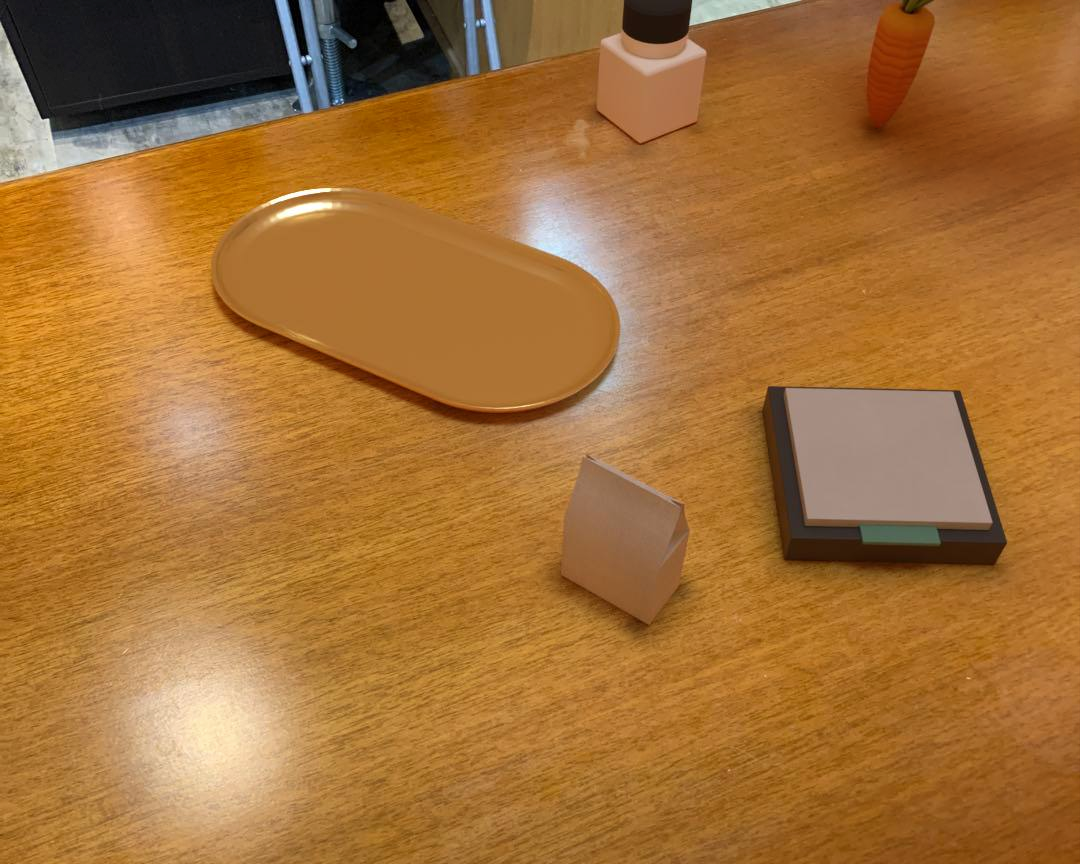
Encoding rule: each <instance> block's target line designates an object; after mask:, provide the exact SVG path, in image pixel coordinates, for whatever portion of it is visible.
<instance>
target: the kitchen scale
mask: <svg viewBox="0 0 1080 864" xmlns="http://www.w3.org/2000/svg"><path fill="white" fill-rule="evenodd" d="M762 416H763V421H764V428H765V436H766V442H767V449H768V456H769V462H770V469H771V470H770V471H771V476H772V482H773V490H774V496H775V503H776V511H777V517H778V524H779V531H780V537H781V545H782V550H783V558H784V560H786V561H787V560H790V561H791V560H793V561H826V562H827V561H831V562H832V561H835V562H838V561H839V562H876V563H879V562H880V563H920V564H921V563H923V564H924V563H925V564H961V565H962V564H966V565H996V563H997V561H998V559H999V558H1000V556H1001V555H1002V553H1003V551H1004V549H1005V547H1006V546H1007V544H1008V540H1007V537H1006V535H1005V530H1004V528H1003V524H1002V521H1001V518H1000V515H999V512H998V508H997V504H996V502H995V499H994V495H993V492H992V488H991V485H990V481H989V480H988V475H987V472H986V470H985V466H984V462H983V459H982V456H981V453H980V450H979V446H978V443H977V440H976V436H975V433H974V430H973V427H972V424H971V423H972V422H971V420H970V417H969V414H968V410H967V408H966V404H965V401H964V398H963V394H962V391H961V390H960V389H953V390H952V389H914V388H869V387H867V388H866V387H831V386H830V387H829V386H828V387H826V386H825V387H824V386H781V385H779V386H778V385H768V386H767V389H766V393H765V397H764V401H763V405H762Z"/></svg>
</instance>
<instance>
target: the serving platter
mask: <svg viewBox="0 0 1080 864" xmlns="http://www.w3.org/2000/svg"><path fill="white" fill-rule="evenodd" d="M210 276H211V281H212V283H213V287H214V289H215V291H216V293H217V294H218V296H219V297H220V299H221V300H222V302H223V303H224V304H225V305H226V306H227V307H228V308H229V309H230V310H231V311H233V312H234V313H235V314H237V316H239V317H241V318H243V319H244V320H245V321H247V322H249V323H252V324H254V325H256V326H257V327H260V328H262V329H264V330H267V331H270V332H272V333H274V334H277V335H279V336H281V337H284V338H287V339H289V340H291V341H293V342H295V343H298V344H301V345H302V346H305V347H307V348H310V349H312V350H314V351H317V352H319V353H321V354H324V355H325V356H328V357H330V358H333V359H335V360H338V361H340V362H343V363H345V364H347V365H350V366H352V367H355V368H357V369H360V370H361V371H365V372H367V373H369V374H371V375H374V376H376V377H379V378H381V379H383V380H386V381H388V382H390V383H392V384H395V385H397V386H399V387H402V388H405V389H407V390H410V391H411V392H414V393H416V394H419V395H421V396H423V397H426V398H428V399H430V400H433V401H435V402H438V403H441V404H443V405H447V406H448V407H451V408H452V407H453V408H456V409H460V410H465V411H470V412H478V413H490V414H505V413H506V414H507V413H508V414H509V413H520V412H526V411H532V410H536V409H540V408H545V407H547V406H550V405H554V404H556V403H559V402H561V401H564V400H566V399H567V398H569V397H571V396H573V395H575V394H577V393H578V392H580V391H582V390H583V389H584V388H586V387H587V386H589V385H590V384H591V383H593V382H594V381H595V380H596V379H597V378H598V377H599V376H600V375H601V374H602V373H603V372H604V371H605V369H606V368H608V366H609V364H610V363H611V361H612V360H613V358H614V356H615V354H616V351H617V348H618V346H619V343H620V337H621V319H620V315H619V310H618V308H617V305H616V303H615V301H614V300H613V297H612V295H611V294H610V293H609V291H608V290H607V289H606V287H605V286H604V285H603V284H602V283H601V282H600V281H599V280H598V278H597V277H595V276H594V275H593V274H591V273H590V272H588V271H587V270H586V269H585V268H583V267H581V266H579V265H578V264H576V263H574V262H571V261H570V260H567V259H565V258H564V257H561V256H559V255H555V254H553V253H550V252H547V251H545V250H541V249H539V248H536V247H534V246H530V245H527V244H525V243H522V242H519V241H516V240H514V239H511V238H509V237H506V236H503V235H500V234H497V233H495V232H492V231H489V230H486V229H483V228H481V227H478V226H475V225H472V224H470V223H467V222H464V221H461V220H458V219H456V218H453V217H451V216H449V215H445V214H442V213H439V212H437V211H434V210H431V209H428V208H425V207H422V206H420V205H418V204H414V203H411V202H408V201H407V200H404V199H400V198H398V197H395V196H393V195H389V194H386V193H383V192H379V191H376V190H369V189H364V188H358V187H357V188H356V187H322V188H312V189H307V190H301V191H297V192H292V193H289V194H285V195H281V196H279V197H276V198H273V199H271V200H269V201H266V202H264V203H262V204H260V205H258V206H256V207H254V208H253V209H251V210H249V211H247V212H246V213H244V214H243V215H241V216H240V217H239V218H237V219H236V220H235V221H234V222H233V223H232V224H231V225H230V226H229V227H228V228H226V230H225V232H223V234H222V235H221V236H220V238H219V240H218V241H217V243H216V244H215V247H214V250H213V253H212V256H211V261H210Z"/></svg>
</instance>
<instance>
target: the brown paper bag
mask: <svg viewBox="0 0 1080 864" xmlns="http://www.w3.org/2000/svg"><path fill="white" fill-rule="evenodd" d="M562 532H563V533H562V548H561V549H562V550H561V552H562V553H561V570H560V571H561V572H560V575H561V576H562V577H564V578H565V579H567V580H568V581H570V582H573V583H574V584H576V585H578V586H580V587H581V588H583V589H585V590H587V592H590V593H591V594H593V595H595V596H597V597H599V598H600V599H602V600H603V601H606V602H607V603H609V604H611V605H613V606H614V607H616V608H618V609H620V610H621V611H623V612H625V613H626V614H629V615H631V616H632V617H634V618H636V619H637V620H639V621H641V622H643V623H645V624H646V625H648V626H650V625H651V623H652V622H653V621H654V620H655V618H656V617H657V616H658V615H659V613H660V612H661V610H662V609H663V608H664V607H665V605H666V604H667V603H668V601H670V599H671V598H672V597H673V595H674V593H676V591H677V589H678V588H679V587H680V581H681V578H682V577H681V576H682V573H683V572H682V571H683V566H684V563H685V558H686V551H687V547H688V542H689V537H690V532H691V530H690V527H689V525H688V521H687V518H686V512H685V503H683V502H681V501H679V500H677V499H676V498H673V497H671V496H670V495H668V494H666V493H663V492H661V491H659V490H658V489H656V488H654V487H652V486H650V485H648V484H647V483H645V482H642V481H640V480H638V479H637V478H635V477H633V476H631V475H629V474H627V473H625V472H624V471H621V470H620V469H617V468H615V467H614V466H612V465H610V464H608V463H605V462H604V461H602V460H600V459H598V458H596V457H595V456H593V455H590V454H589V453H585V457H584V456H582V457H581V462H580V467H579V470H578V474H577V477H576V481H575V484H574V486H573V489H572V493H571V496H570V500H569V502H568V505H567V508H566V511H565V513H564V517H563V529H562Z"/></svg>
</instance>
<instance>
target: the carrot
mask: <svg viewBox="0 0 1080 864" xmlns="http://www.w3.org/2000/svg"><path fill="white" fill-rule="evenodd" d="M934 1H935V0H902V1H900V2H896V3H890V4H888V5H887V6H886V7H885V8H884V10H883V12H882V14H881V16H880V18H879V19H878V22H877V24H876V25H877V26H876V30H875V34H874V39H873V41H872V47H871V51H870V56H869V61H868V69H867V79H866V104H867V110H868V115H869V118H870V121H871V124H872V125H873V126H874V128H875V129H879V128H881V127H883V126H884V125H885V124H886V123H888V121H889V120H890V119H891V118H892V117H894V115H895V114H896V112H897V111H898V109H899V108H900V107H901V106H902V104H903V102H904V100H905V98H906V96H907V95H908V93H909V90H910V88H911V86H912V84H913V82H914V80H915V78H916V76H917V74H918V71H919V70H920V67H921V64H922V62H923V59H924V57H925V54H926V50H927V49H928V46H929V43H930V39H931V36H932V33H933V30H934V28H935V24H936V23H935V22H936V17H935V15H934V13H932V12H931V11H930V10H929V9H928V8H926V7H925V6H927V5H928V4H930V3H932V2H934Z"/></svg>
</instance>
